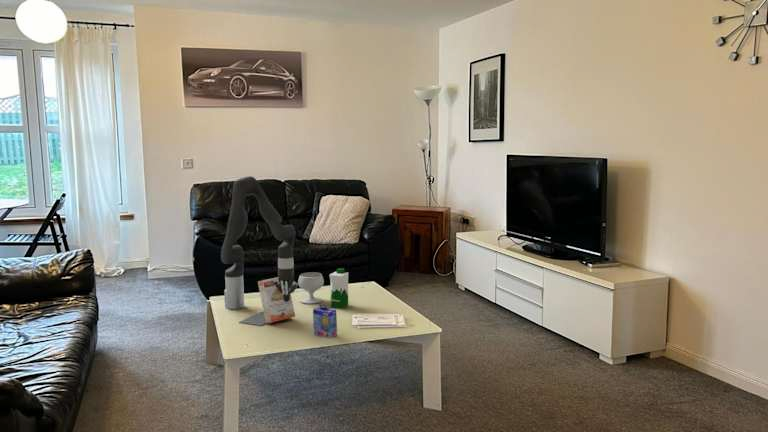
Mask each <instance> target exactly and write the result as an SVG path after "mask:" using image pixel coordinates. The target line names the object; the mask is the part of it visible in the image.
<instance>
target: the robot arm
mask: <svg viewBox="0 0 768 432" xmlns="http://www.w3.org/2000/svg"><path fill="white" fill-rule="evenodd" d="M249 196H253V197H255V198H256V200H257V202H258V207H259V213H260V215H261V217H262V219H264V221H265V222H266V223H267V225H268V226H269V228H270V231H271V233H272V235H273V236H274V238H275V239H276V240H277V241H280V242H282V243H281V244H280V245H279V246H278V247H277V257H278V258H277V275H278V276H277V277H279V278H278V281H276V282H274V284H275V286H276V287H277V289H278V290H279V292H280V293H283V299H284V302H288V301H289V300H290V294H292V293H294V292H295V291H296V289H297V288H298V286H299V284H298V282H296V281H295V263H294V251H293V250H294V245H295V241H296V236H297V235H296V229H295V227H294V226H293V225H291V224H285V225H282V224H281V223H282V221H283V218H282V216H281V215H280V213H279V212H278V211H277V210H276V209H275V208H274V206H273V205H272V203H271V202H270V200H269V198H268V197H267V195H266V193H265V192H264V190H263V188H262V186H261V185H260V183H259V182H258V180H257V179H256V178H255V177H254V176H245V177H240V178H237V179H236V180H235V181H234V183H233V186H232V197H231V206H230V207H231V208H230V210H229V211H230V212H229V217H228V221H227V227H226V231H225V232H226V233H225V237H224V240H223V244H222V246H221V247H222V248H221V251H220V259H221V262H222V263H223V264H225V265H231V264H233V265H232V266H230V267H228V268H227V269H226V270H225V271H224V280H225V289H224V290H223V294H224V307H225V308H227V310H239V309H243V308H245V292H244V290H245V289H244V288H245V287H244V286H245V285H244V259H245V258H244V257H245V256H244V254H245V253H244V248H243V247H242V246H241V245H240V244H235V243H236V242H237V240H238V239H239V238H241V236H242V235H243V234H244V233H245V231H246V228H247V225H248V221H249V219H248V218H249V216H248V213H247V211H246V209H245V207H244V203H245V199H246V197H249ZM234 244H235V245H234Z"/></svg>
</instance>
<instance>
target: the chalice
mask: <svg viewBox="0 0 768 432" xmlns="http://www.w3.org/2000/svg"><path fill="white" fill-rule="evenodd" d="M297 283H298V284H299V285H298V286H299V288H300V289H302V290H304V291H306V292H307V293H308V294H309V297H303V298H301V299H300V303H301V304H302V303H303V304H309V305H314V304H319V303H321V302H323V299H322V298H321V297H318V296H314V294H315V292H316V291H318V290H319V289H321V288H322V287H323V286H324V284H325V280H324V276H323V275H322V273H320V272H314V271H312V272H303V273H301V274H300V275H299V277H298V280H297Z"/></svg>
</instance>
